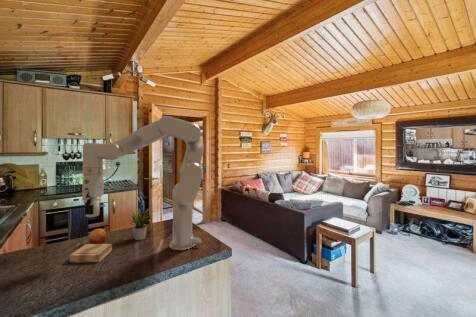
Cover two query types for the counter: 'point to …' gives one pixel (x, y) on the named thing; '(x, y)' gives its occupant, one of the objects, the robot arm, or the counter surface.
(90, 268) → the counter surface
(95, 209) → the canister
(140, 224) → the house plant
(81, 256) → the base
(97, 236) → the fruit
